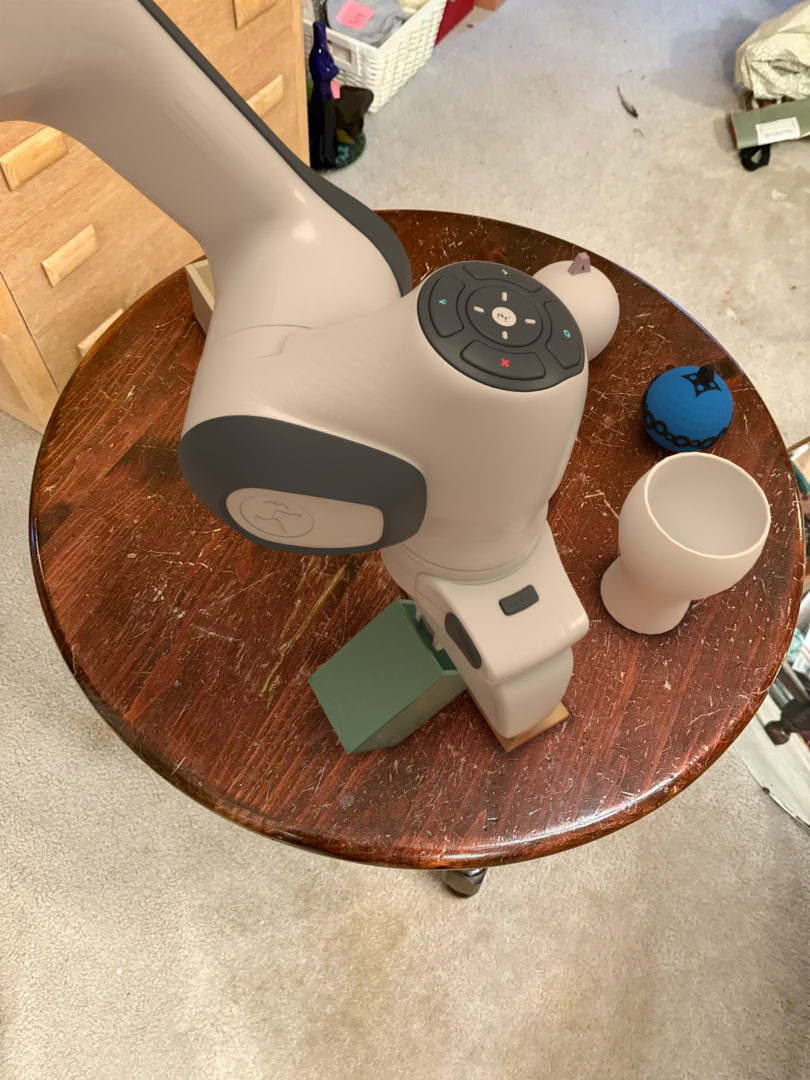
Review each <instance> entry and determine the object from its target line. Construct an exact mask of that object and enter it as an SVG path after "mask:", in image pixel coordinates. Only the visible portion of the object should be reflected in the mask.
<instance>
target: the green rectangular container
mask: <svg viewBox="0 0 810 1080" xmlns="http://www.w3.org/2000/svg"><path fill="white" fill-rule="evenodd" d="M416 609H417V608H416V606H415V603H414V600H410V599H404V598H403V599H402V598H395V599H393V601H392V602H390V603H389V604H388V605H387V606H386V607H384V608H383V609H382V611H380V612H379V613H378V614H377V615H376V616H375V617H373V618H372V620H370V621H369V622H368V623H367V624H366V625H364V627H362V629H360V630H359V631H358V632H357V633H356V634H355V635H354V636H353V637H352V638H350V640H348V641H347V642H346V643H345V644H344V645H343V646H341V648H339V650H338V651H336V652H335V653H333V655H332V656H331V657H329V658H328V659H327V661H325V662H324V663H323V664H322V665H320V667H319V668H318V669H317V670H315V671H314V672H313V673H312V674H311V675H309V677H308V678H307V679H306V680H307V682H308V684H309V686H310V687H311V689H312V691H313V693H314V695H315V697H316V699H317V701H318V703H319V704H320V707H321V708H322V710H323V712H324V714H325V716H326V717H327V719H328V722H329V723H330V725H331V728H332V729H333V731H334V732H335V734H336V736H337V738H338V740H339V742H340V744H341V746H342V747H343V749H344V752H345V753H346V755H353V754H359V753H363V752H369V751H373V750H379V749H384V748H390V747H394V746H398V745H400V744H401V743H402V742H403V741H404V740H405V739H407V738H408V737H409V736H411V735H412V734H413V733H414V732H416V730H418V729H419V728H420V727H422V726H423V725H424V724H425V723H426V722H428V721H429V720H430V719H432V718H433V717H434V716H435V715H436V714H438V713H439V712H440V711H441V710H443V709H444V708H445V707H447V706H448V705H449V704H450V703H451V702H453V701H454V700H455V699H457V698H458V697H459V696H460V695H461V694H462V693H464V692H465V691H467V688H468V686H467V684H466V682H465V681H464V679H463V678H462V676H461V674H460V673H459V671H458V670H457V668H456V667H455V665H454V663H453V662H452V660H451V659H450V657H449V655H448V654H447V652H446V651H445V649H444V648H443V649H441V650H438V651H437V650H436V649H435V648H434V646H433V644H432V643H431V641H430V640H429V638H428V636H427V635H426V633H425V632H424V630H423V628H422V627H421V625H420V624H419V622H418V620H417V619H416V617H415V616H416Z"/></svg>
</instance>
